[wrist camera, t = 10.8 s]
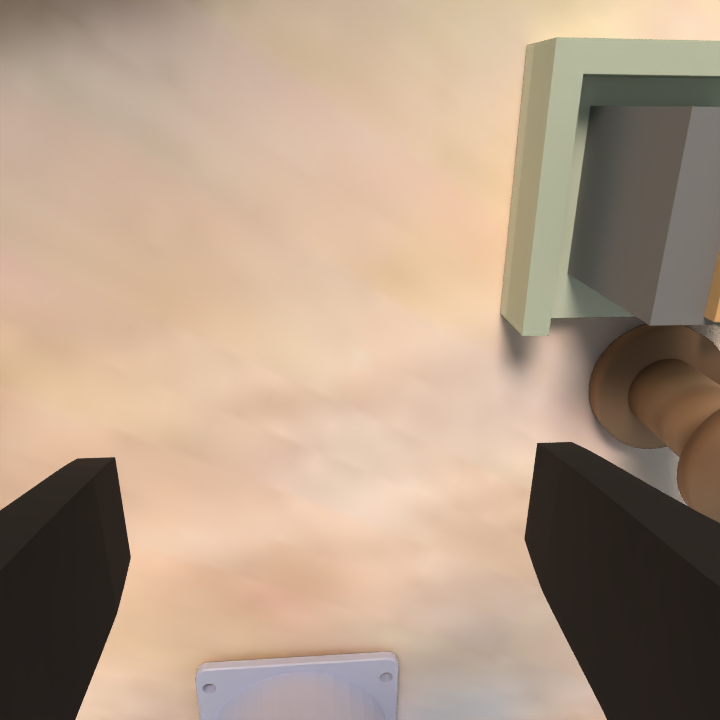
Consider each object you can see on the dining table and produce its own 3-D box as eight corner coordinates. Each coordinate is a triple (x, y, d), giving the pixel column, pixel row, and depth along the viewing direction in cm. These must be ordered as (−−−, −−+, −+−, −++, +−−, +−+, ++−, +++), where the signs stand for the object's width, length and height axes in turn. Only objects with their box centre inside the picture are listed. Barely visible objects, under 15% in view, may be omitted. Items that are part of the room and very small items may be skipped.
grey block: (678, 271, 20) (805, 328, 15) (567, 273, 19) (658, 331, 14) (712, 107, 18) (869, 108, 13) (590, 106, 18) (703, 106, 13)
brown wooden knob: (697, 435, 23) (820, 538, 17) (580, 439, 22) (669, 546, 17) (725, 320, 21) (871, 395, 16) (599, 322, 21) (704, 400, 15)
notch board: (710, 309, 21) (754, 331, 19) (500, 312, 20) (522, 336, 18) (770, 50, 18) (830, 43, 16) (526, 44, 17) (556, 37, 15)
